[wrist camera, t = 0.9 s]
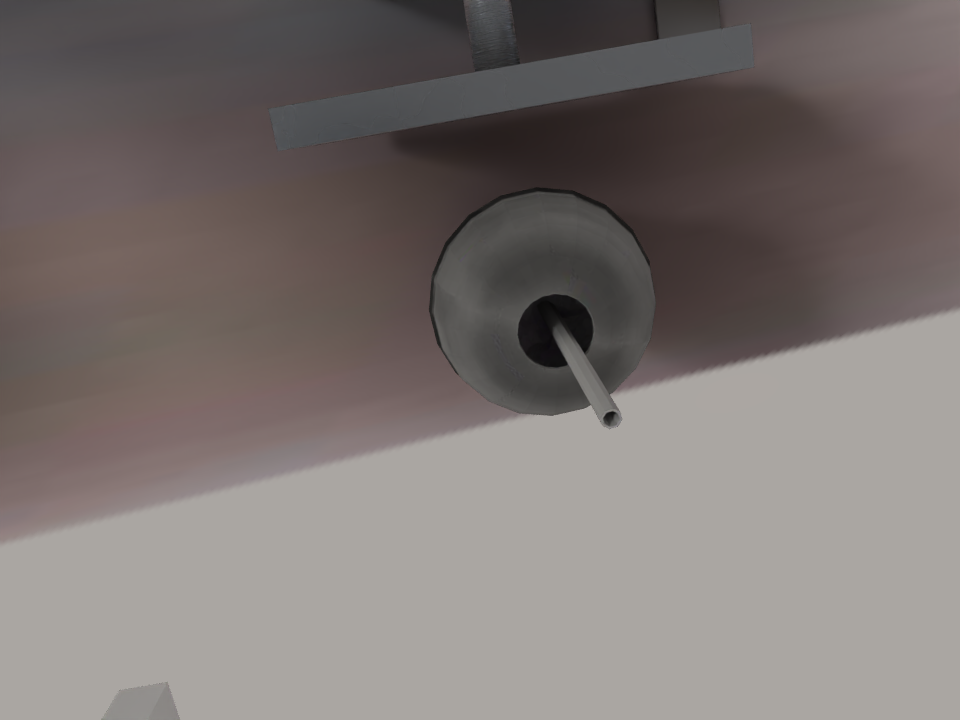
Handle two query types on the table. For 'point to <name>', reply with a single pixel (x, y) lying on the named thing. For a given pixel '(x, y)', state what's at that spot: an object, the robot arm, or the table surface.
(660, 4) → the brown boxy piece
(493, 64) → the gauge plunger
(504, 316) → the beverage cup
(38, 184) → the table surface
